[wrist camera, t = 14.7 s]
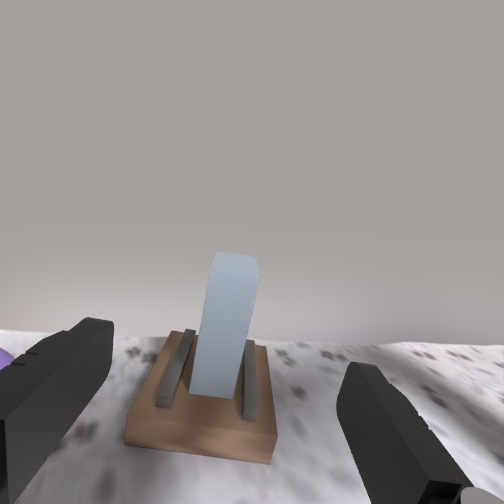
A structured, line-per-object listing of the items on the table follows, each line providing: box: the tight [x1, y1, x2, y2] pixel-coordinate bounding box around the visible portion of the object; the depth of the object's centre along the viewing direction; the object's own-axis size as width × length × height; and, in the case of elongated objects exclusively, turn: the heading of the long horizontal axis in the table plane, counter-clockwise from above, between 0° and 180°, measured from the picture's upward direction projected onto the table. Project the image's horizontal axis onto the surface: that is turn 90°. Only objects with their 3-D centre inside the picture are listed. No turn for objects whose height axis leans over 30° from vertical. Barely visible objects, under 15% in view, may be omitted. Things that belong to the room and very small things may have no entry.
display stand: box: [124, 329, 278, 464], centre depth 26 cm, size 12×12×4 cm
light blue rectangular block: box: [189, 251, 260, 399], centre depth 24 cm, size 4×6×12 cm
